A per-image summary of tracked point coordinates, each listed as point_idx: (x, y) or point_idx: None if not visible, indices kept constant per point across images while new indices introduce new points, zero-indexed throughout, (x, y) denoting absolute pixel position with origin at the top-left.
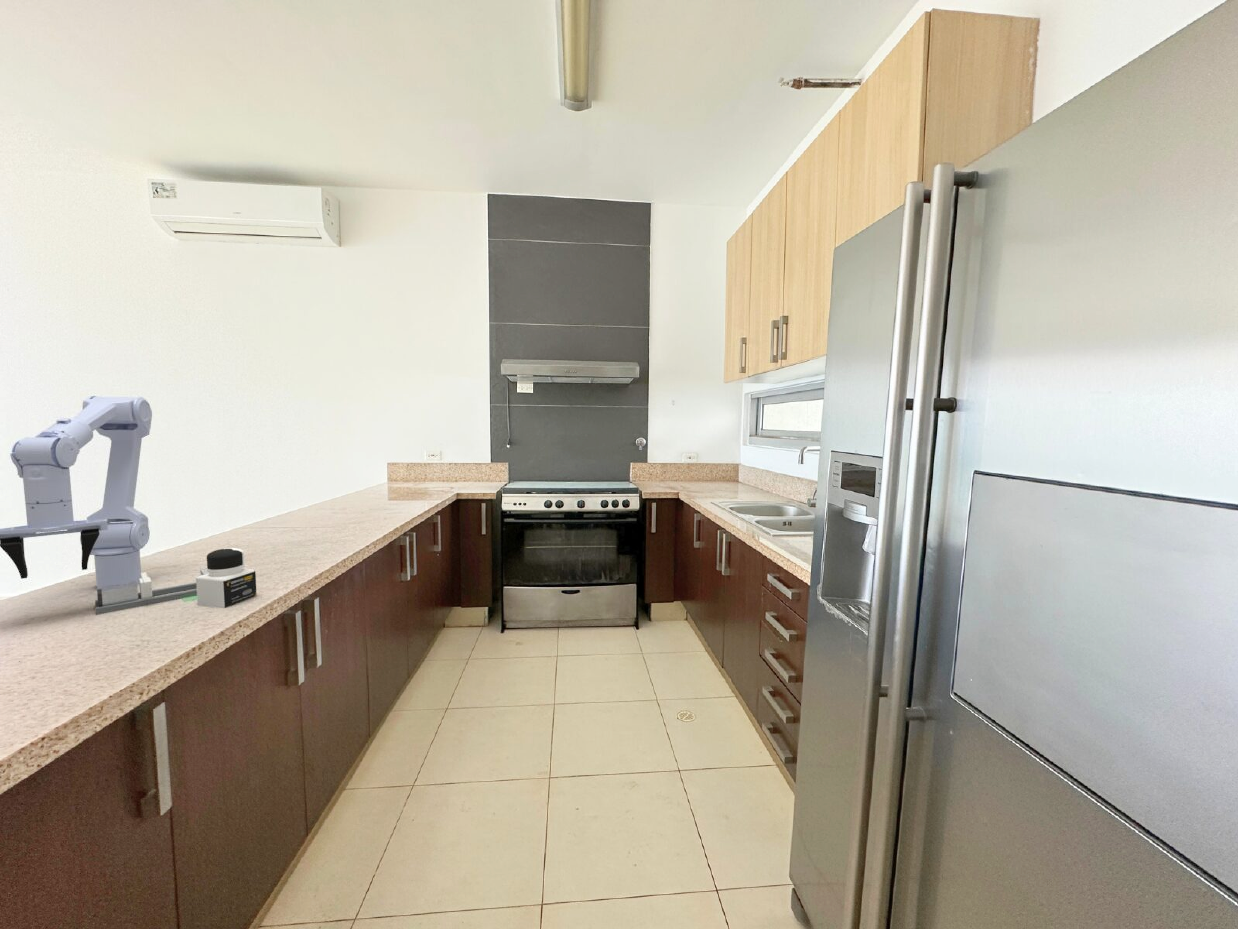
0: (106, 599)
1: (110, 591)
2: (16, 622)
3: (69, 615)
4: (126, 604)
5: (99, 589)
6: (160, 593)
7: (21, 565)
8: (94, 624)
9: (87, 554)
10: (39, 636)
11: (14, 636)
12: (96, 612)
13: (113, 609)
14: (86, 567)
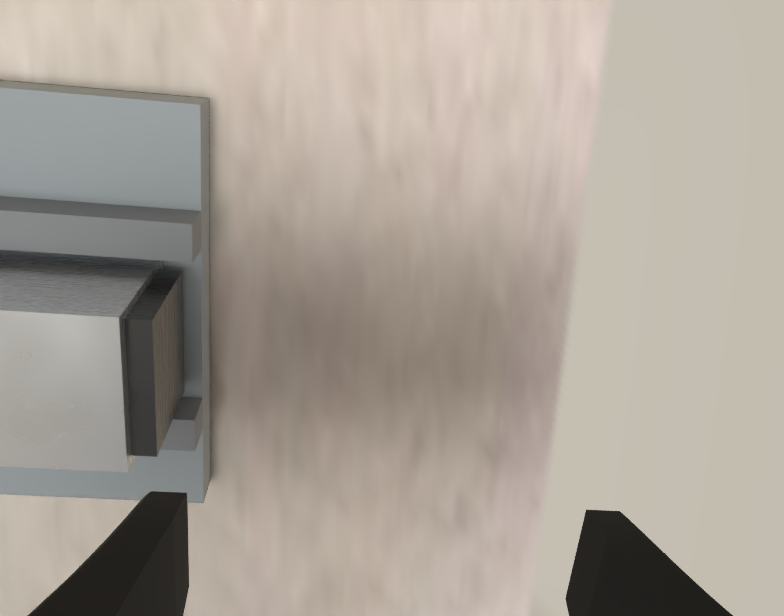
0: (115, 288)
1: (66, 309)
2: (522, 504)
3: (323, 444)
4: (17, 210)
5: (142, 449)
6: None
7: (678, 594)
8: (220, 139)
9: (65, 598)
10: (473, 137)
11: (562, 251)
12: (193, 217)
13: (101, 210)
14: (143, 502)
